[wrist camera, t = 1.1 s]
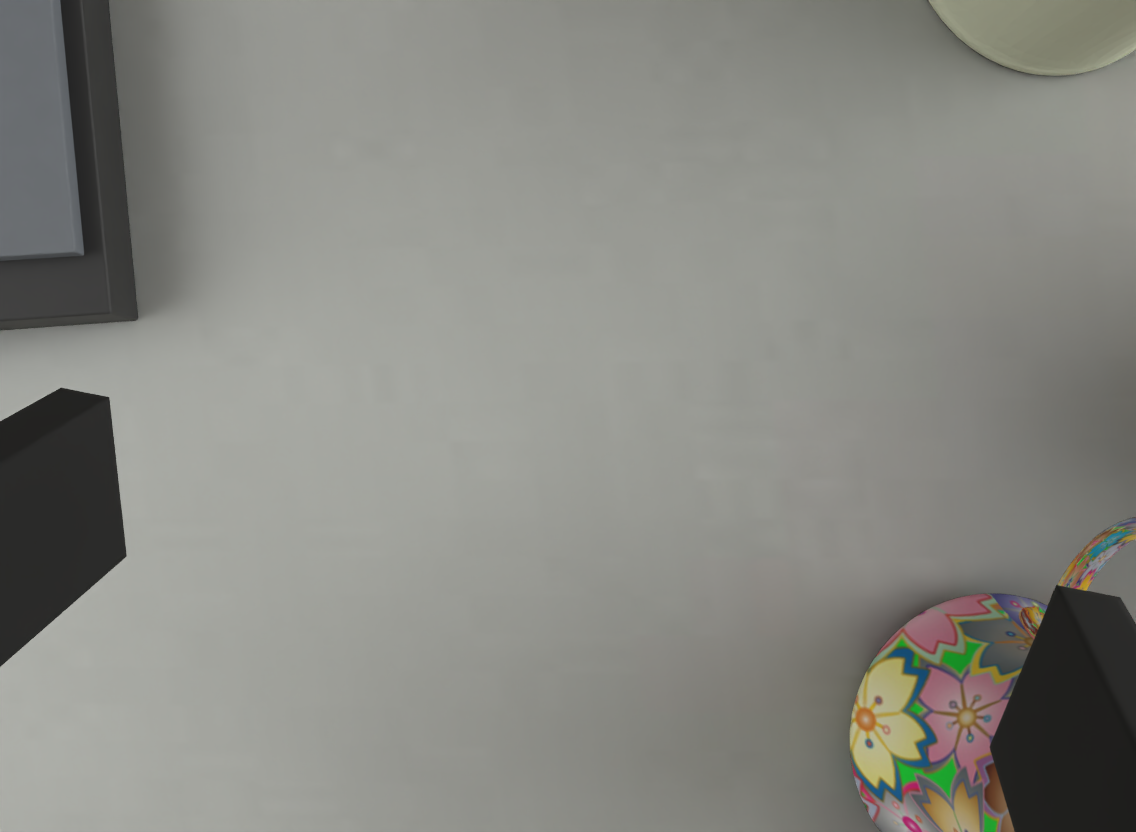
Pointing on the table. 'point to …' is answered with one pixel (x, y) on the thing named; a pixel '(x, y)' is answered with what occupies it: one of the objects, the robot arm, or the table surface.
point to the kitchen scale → (61, 169)
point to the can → (1044, 32)
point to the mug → (951, 705)
